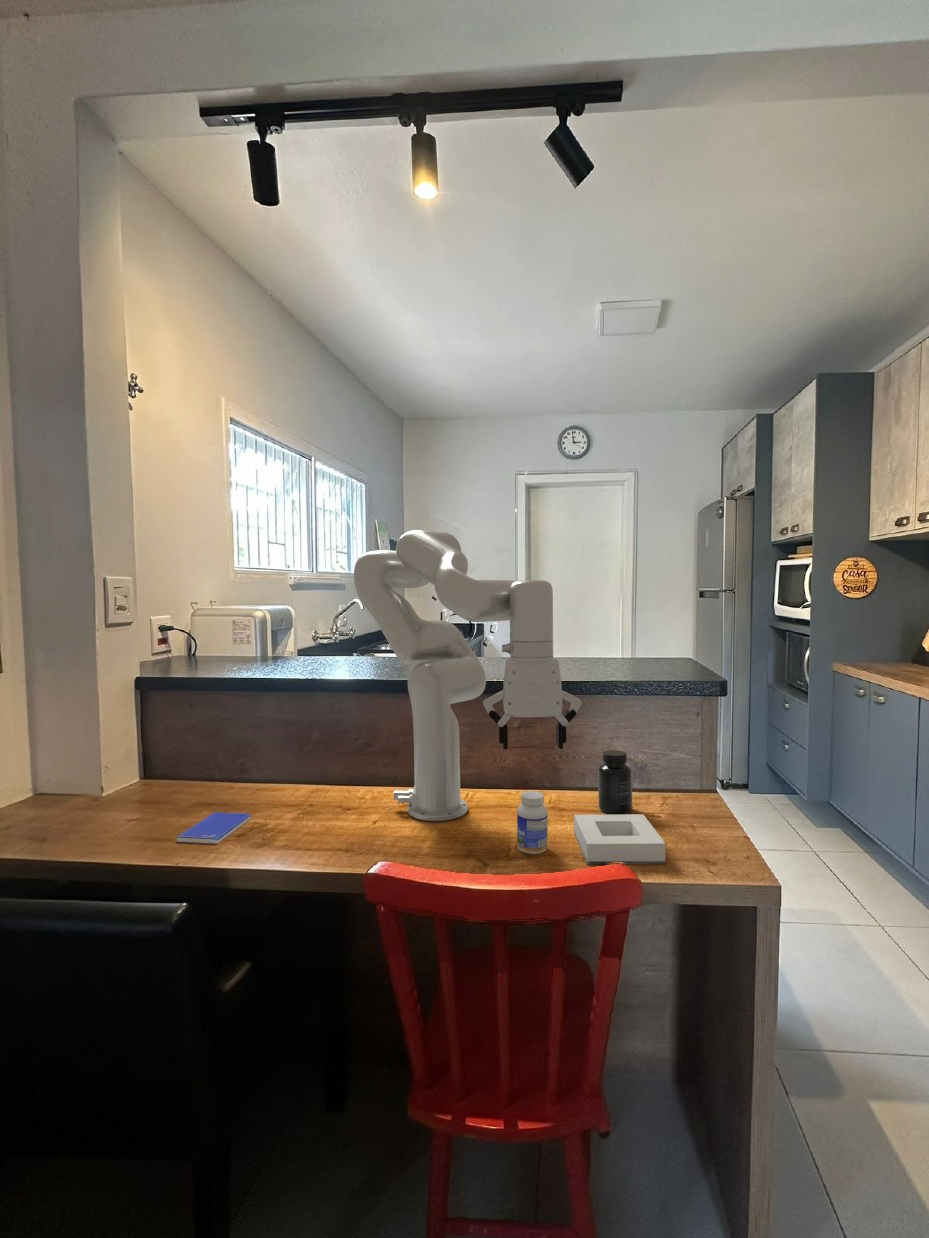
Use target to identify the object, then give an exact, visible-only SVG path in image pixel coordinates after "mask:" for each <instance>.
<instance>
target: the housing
mask: <svg viewBox="0 0 929 1238" xmlns="http://www.w3.org/2000/svg"><path fill="white" fill-rule="evenodd" d="M573 834H574V836H575V838H576V841H577V843H578V846H579V849H580V851H581V853H582V855H583V858H584V859H585V863H586V865H609V864H608V863H612V862H623V863H625V864H624V865H665V864H666V843H665V841H664V840H663V838H662V837H661V835H660V834H659V833H658V832H657V830H656V829H655V828H654V826H653V825H652V823H651V822H650V821H649V820H648V819H647V817H646V816H645V814H644V813H643V814H637V813H636V814H633V813H632V814H629V813H628V814H623V815H613V814H574V815H573Z"/></svg>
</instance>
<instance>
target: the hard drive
mask: <svg viewBox="0 0 929 1238" xmlns="http://www.w3.org/2000/svg"><path fill="white" fill-rule="evenodd" d="M251 818H252V816H251V814H250V813H243V812H242V813H240V812H237V813H235V812H218V811H217V812H213V813H211V814H210V815H208V816H207V817H205V818H204V819H203V820H201V821H199V822H198V823H197V824H195V825H193V826H192V827H191V828H189V829H187V830H186V831H184V832H183V833H181V834H180V835H178V836H177V837H176V842H177V843H197V844H199V843H200V844H214V845H215V844H217V845H218V844H219V843H221V842H222V841H224V840H225V839H227V837H228V836H230V835H232V833H234V832H235V831H236V830H238V829H239V828H240V827H241V826H243V825H244V824H246V823H247V822H248V821H250V820H251Z"/></svg>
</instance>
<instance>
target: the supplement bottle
mask: <svg viewBox="0 0 929 1238" xmlns="http://www.w3.org/2000/svg"><path fill="white" fill-rule="evenodd" d="M627 758H628V757H627V752H626V751H624V750H615V749H612V750H611V749H610V750H605V751H603V752H602V762H603V763H601V765H599V767H598V770H597V776H598V777H597V783H598V809H599V810H600V811H601V812H602V813H605V814H607V815H628V814H629V813H631V812H632V810H633V771H632V769H631V767H630V766H629V765H628V764H627V762H628V759H627Z"/></svg>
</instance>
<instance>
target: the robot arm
mask: <svg viewBox="0 0 929 1238" xmlns="http://www.w3.org/2000/svg"><path fill="white" fill-rule="evenodd" d="M395 544H396V545H395V550H386V549H385V550H382V549H381V550H372V551H367V552H366V553H364V554H362V555H361V556H360V557H359V558H358V559H357V560H356V562H355V565H354V569H353V580H354V581H353V582H354V588H355V591H356V593H357V595H358V598H359V600H360V602H361V603H362V605H363V606H364V608H365V609H366V610H367V611H368V613H369V614H370V615H371V616H372V617H373V619H374V621H375V623H377V625H378V627H379V628H380V631H381V632H382V634H383V635H384V637H385V639H386V641H387V643H388V645H389V646H390V648H391V650H392V651H393V653H394V654H395V657H396V658H397V659H398V660H399V661H400V662H401V663H402V664H403V665H406V666H414V667H413V668H412V669H411V670H410V672H409V675H408V677H407V691H408V695H409V700H410V706H411V712H412V724H413V725H412V726H413V727H412V728H413V729H412V730H413V764H414V765H413V767H414V768H413V769H414V770H413V771H414V785H413V788H410V789H408V790H393V801H397V803H398V804H405V803H408V804H407V814H409V816H411V817H412V818H414V819H417V820H420V821H426V822H428V821H429V822H443V821H445V822H446V821H451V820H454V819H458V818H460V817H462V816H464V815H466V814H467V812H468V809H469V808H468V807H469V805H468V802H467V801H466V800H465V799H463V798H461V762H460V761H461V759H460V758H461V757H460V756H461V754H460V753H461V751H460V748H461V746H460V724H459V722H458V719H457V717H456V714H455V713H454V711H453V709H452V707H451V705H452V704H456V703H462V702H466V701H472V700H474V699H477V698H479V697H480V696H481V695H482V694H483V693H484V691H485V689H486V685H487V676H486V672H485V669H484V667H483V665H482V663H481V661H480V660H479V658H478V657H477V655H476V653H475V652H474V650H473V649H472V648H471V646H470V644H469V643H468V642H467V640H466V638H465V636H464V635H463V634H462V632H461V631H460V629H459V628H458V627H457V626H456V625H454V624H453V623H451V622H449V621H447V620H440V619H439V620H437V619H435V620H425V619H423V618H421V617H420V615H418V613H417V612H416V611H415V609H414V607H413V606H412V604H411V603H410V602H409V601H408V600H407V599H406V598H405V597H404V596H403V595H401V594H400V593H398V592H397V591H396V590H394V589H417V588H421V587H424V586H426V585H428V584H432V585H433V586H434V590H435V591H434V592H435V593H436V596H437V598H438V601H439V603H441V605H443V606H444V607H445V608H446V609H448V610H449V611H450V612H452V613H453V614H455V615H457V616H458V617H459V618H461V619H464V620H465V621H468V622H472V623H484V622H485V623H486V622H501V621H502V622H505V621H509V642H508V643H506V644H502V645H501V651H502V653H507V654H508V655H510V657H507V658H506V661H505V665H504V675H503V683H502V685H503V686H502V687H503V688H502V690H500V691H499V692H496V693H494V694H493V695H490V696H489V697H487V698H485V699H484V700H482V704H483V707H484V708H485V710H486V713H487V715H488V716H489V717H490V719H492V721H494V723H495V724H496V725H497V726H498V742H499V745H500V744H501V745H502V748H503V750H507V749H508V748H509V740H508V739H509V738H508V737H509V736H508V734H509V733H508V730H509V728H508V724H507V722H508V721H509V720H510V719H511V718H554V717H555V719H556V720H557V723H556V724H555V725H556V728H555V729H556V735H555V736H556V743H555V744H556V746H557V748H558V749H560V750H561V749H562V750H563V749H564V744H566V743H567V726H568V725H569V723H570V722H571V721H572V720H573V719H574V718H575V717H576V716H577V713H578V712H579V710H580V707H581V706H582V703H583V701H582V700H581V698H578V697H576V695H575V696H574V695H572V694H571V693H568V692H566V691H565V690H563V688H562V686H563V685H562V677H561V675H562V674H561V669H560V668H561V667H560V663H559V659H558V658H556V657H554V594H553V593H554V591H553V586H552V584H551V582H549V581H547V580H540V579H539V580H536V579H534V580H533V579H532V580H530V579H529V580H511V579H509V580H508V579H475V578H472V577H470V576H468V575H467V573H468V571H469V569H468V568H469V563H468V559H467V557H466V555H465V554H464V553H463V552H462V547H461V544H460V542H459V540H458V539H457V537H455V536H454V535H453V534H451V533H449V532H445V531H438V530H436V531H435V530H423V529H419V530H418V529H413V530H410V531H406V532H405V533H404V534H402V535H401V536H400V537H399V538H398V539H397V542H396V543H395ZM563 700H565V701H567V702H568V703H570V704H571V705H570V707H569V708H568V710H567V711H566V712H565V713H564V714H563V713H562V712H563ZM500 701H502V705H503V711H502V712H501V713H500V714H499V713H498V712H497V711H496V710H495V709H494V707H493V705H494V704H496V703H498V702H500Z"/></svg>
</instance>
